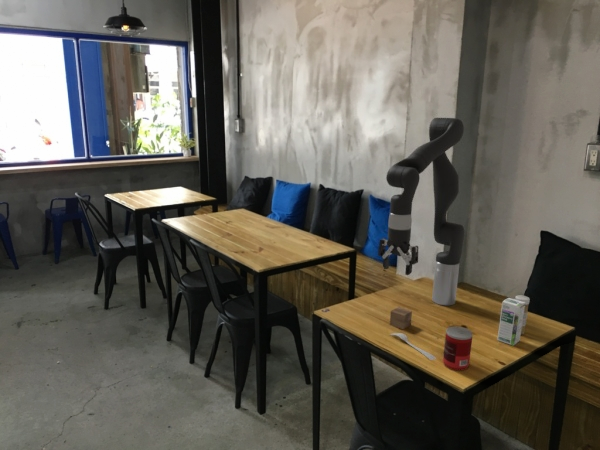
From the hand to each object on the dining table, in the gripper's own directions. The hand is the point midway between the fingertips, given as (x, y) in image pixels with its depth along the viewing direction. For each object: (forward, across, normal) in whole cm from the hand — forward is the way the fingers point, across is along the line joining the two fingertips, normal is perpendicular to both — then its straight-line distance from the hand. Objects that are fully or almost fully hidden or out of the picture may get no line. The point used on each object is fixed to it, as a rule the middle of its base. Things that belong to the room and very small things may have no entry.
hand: (396, 271), depth 163 cm
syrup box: (+23, -32, -22) cm, 45 cm away
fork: (+23, -10, +5) cm, 26 cm away
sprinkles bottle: (+23, -32, -31) cm, 50 cm away
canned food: (+22, -26, +6) cm, 35 cm away
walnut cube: (+22, +1, -6) cm, 23 cm away
